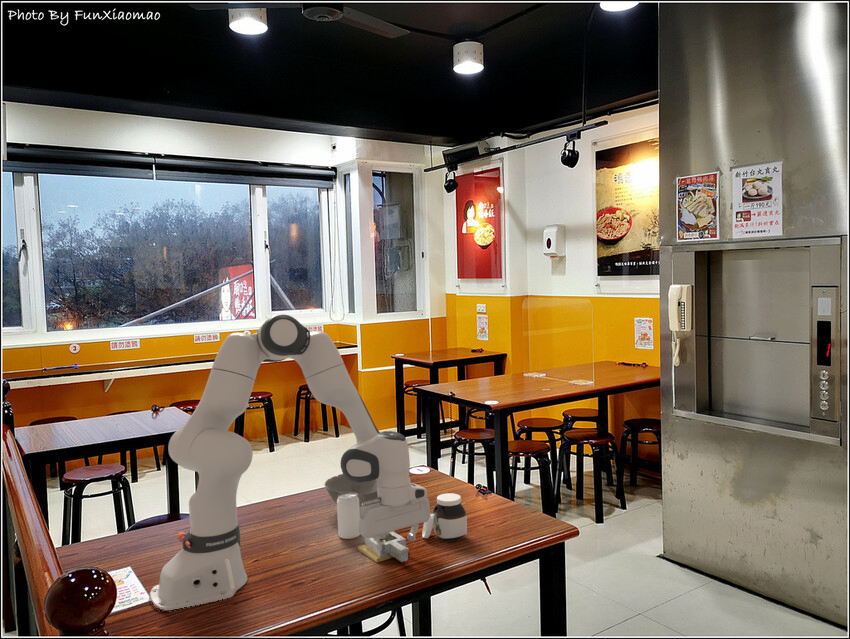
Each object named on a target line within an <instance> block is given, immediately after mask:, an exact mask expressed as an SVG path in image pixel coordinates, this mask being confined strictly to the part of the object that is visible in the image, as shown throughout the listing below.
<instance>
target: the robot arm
mask: <svg viewBox="0 0 850 639" xmlns="http://www.w3.org/2000/svg"><path fill="white" fill-rule="evenodd" d="M218 349H219V350H218V351H217V354H216V357H215V358H214V360H213V364H212V366H211V369H210V373H209V376H208V378H207V382H206V385H205V387H204V390H203V393H202V396H201V398H200V401H199V402H198V404H197V406H196V408H195V409H194V411H193V412H192V414H191V415H190V417H189V418H188V419H187V421H186V422H185V423H184V425H183V426H182V427H180V428H179V429H177V430H176V431H175V432H174V433H173V434H172V435H171V436H170V439H169V441H168V445H167V446H168V450H167V451H168V455H169V457H170V458H171V460H172V461H173V462H174V463H175V464H177V465H179V466H180V467H181V468H184V469H185V470H189V471H192V472H196V473H197V474H198V483H197V488H196V491H195V492H194V493H193V494H192V495H191V496H190V498H189V500H188V510H189V511H188V512H189V515H188V516H189V528H190V529H189V531H188V532H187V533H185V532H184V531H180V532H178V533H177V534H176V539H177V541H179V542H180V543H182V549H180V550H179V551H178V552H177V553H176V555H174V556H173V557H172V558H171V559H170V560H169V561H167V563H166V564H165V565H164V566H163V567H162V569H161V571H160V575H159V580H158V581H159V582H158V584H156V585H155V586H154V585H153V587H152V588H151V590H150V592H149V600H150V599H151V601H152V602H153V604H154V605H155V606H157V607H159V608H160V609H164V610H173V609H179V608H183V609H185V608H184V607H187V608H191V607H190V606H192V607H196V606H200V604H201V605H203V604H204V605H206V604H209V602H210V603H212V602H217V601H218V600H219V601H222V599H223V600H227V598H228V599H230V598H232V597H233V596H235V594H236V592H237V591H238V590H239V589H241V588H242V587H243V586H244V585H245V584H246V583H247V582H248V574H247V573H246V569H245V568H244V567H245V566H244V564H243V559H242V554H241V548H240V546H241V529H240V524H239V523H238V511H237V510H238V509H237V507H238V506H237V494H238V487H239V483H240V480H241V478H242V475H243V474H244V473H245V472H247V470H248V469H249V467H250V466H251V463H252V460H253V454H254V453H253V448H252V445H251V442H250V441H249V440H248V439H246V438H245V437H243V436H241V435H239V434H238V433H236V432H234V431H230V430H229V428H230V427H231V425H232V424H233V422H234V421H235V420H236V419H237V418H238V417H239V416H241V415H242V414H244V413H245V411H246V410H247V408H248V405H249V402H250V397H251V395H252V391H253V388H254V384H255V382H256V377H257V374H258V371H259V369H260V366H261V364H262V363H267V362H268V363H276V362H277V363H278V362H282V361H284V360H286V359H292V360H294V361H295V362H296V363H297V364H298V366H299V367H300V368H301V371H302V374H303V377H304V380H305V382H306V384H307V387H308V389H309V392H311V395H312V396H313V397H314V398H315V400H316V401H317V402H318V403H319V402H320V403H321V404H324V405H327V406H331V407H334V408H336V409H338V410H339V411H340V412H342V414H343V415H344V416H345V418H346V420H347V423H348V424H349V427H350V428H351V430H352V432H353V434H354V436H355V439H356V444H354V445H353V446H351V447H349V448H348V449H347V450H346V451H345V452H343V454H342V455H341V459H340V468H341V472H342V474H344V475H345V477H346V478H347V479H349V480H350V481H352V482H356V483H359V482H368V481H373V480H376V481H377V495H378V498H376V499H372V500H368V501H365V502H364V503H363V504H362V505H361V507H360V509H359V512H360V522H359V532H360V535H361V536H362V537H363V538H364V539H365V538H367V539H369V538H373V539H374V541H375V542H376V543H377V550H378V551H383V550H385V544H384V543H383V542H380V540H379V539H381V535H382V534H386V533H389V532H392V531H393V532H396V531H398V530H401V529H406V528H408V527H409V528H410V527H411V528H410V530H409V532H408V533H407V534H406V535H407V541H408V542H414V541H416V534H417V533H418V530H419V527H420V526H419V524H422V523H423V524H424V522H426V521H428V520H429V518H430V514H431V506H430V500H429V498H428V497H427V496H428V489H427V488H425V487H424V486H422V485H419V484H416V483H413V482H411V478H410V475H409V473H410V469H411V468H410V467H411V462H410V460H411V459H410V452H409V451H410V450H409V445H408V441H407V439H406V437H405V435H403V434H402V433H399V432H396V431H393V430H385V431H380V430H379V429H378V428H377V426H376V423H375V422H374V419H373V418H372V415H371V413H370V412H369V410H368V408H367V406H366V404H365V402H364V400H363V398H362V396H361V394H360V393H359V392H358V389H357V388H356V386H355V384H354V382H353V381H352V379H351V376H350V374H349V372H348V369H347V367H346V365H345V363H344V360H343V358H342V356H341V354H340V351H339V350H338V348H337V346H336V344H335V343H334V341H333V340H332V338H331V336H330V335H329V334H328V333H326V332H324V331H320V330H314V331H310V329H308V328H307V327H305V326H304V325H303V324H302V323H301V322H299V321H298V320H297V319H296V318H295V317H294V316H291V315H289V314H286V313H285V314H284V313H283V314H281V313H280V314H275V315H273V316H270V317H269V318H268V319H266V321H264V322H263V323H262V325H261V326H260V327H259V328H258V330H257V331H256V332H255V333H253V334H250V333H249V334H248V333H245V332H233V333H230V334H229V335H227V336H226V338H225V339H224V340H223V342H222V344H221V346H220V348H218ZM363 505H364V506H363ZM151 601H150V602H151ZM195 605H196V606H195ZM179 610H180V609H179Z"/></svg>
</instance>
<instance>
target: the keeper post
mask: <svg viewBox="0 0 850 639" xmlns="http://www.w3.org/2000/svg"><path fill="white" fill-rule="evenodd" d="M379 540H380V542H383V543H384V542H387V535H386V534H382V535H381V539H379ZM406 548H407V549H408V553H409V552H410V550H409V548H408V547H407V546H406ZM358 551H359V552H361V553H362V554H363V555H365V556H366V557H367V558H369V559H371V560H372V561H373V562H375V563H380V562H383V561H386V560H389V559H392V558H394V557H393V556H391V555H387V556H384V557H381V558H380V557H378V556H377V555H376V554H374V553H373V552H371V551H370V550H368V549H367V548H366V544H362V545H360V546H358Z"/></svg>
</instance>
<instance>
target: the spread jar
mask: <svg viewBox="0 0 850 639" xmlns="http://www.w3.org/2000/svg"><path fill="white" fill-rule="evenodd" d="M461 502H462V497H461V495H460V494H458V493H449V492H448V493H442V494H439V495H437V497H436V504H435V505H434V506H433V510H432V513H430V518H429V520H428V521H426V522H423V526H422V532H421V533H422V534H421V535H422V536H421V537H422V538H424V539H429V537H430V536H431V534H432V533H431V532H432V530H433V531H434V534H435V536H436V538H437V539H438V540H440V541H441V542H445V543H455V542H458V541H461V540H462V539H463V538H465V536H466V535H467V533H468V520H467V519H468V518H467V511H466V509H465V507H464V505H463V504H462V503H461Z"/></svg>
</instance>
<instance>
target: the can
mask: <svg viewBox="0 0 850 639" xmlns="http://www.w3.org/2000/svg"><path fill="white" fill-rule="evenodd" d="M359 509H360V508H359V498H358V496H357V493H355V492H344V493H341V494H339V495H338V499H337V504H336V514H337V516H336V517H337V531H338V532H337V534H338V537H339V538H340V539H341V540H352V539H356V538H358V537H359V536H360V535H361V534H360V532H359V522H360V512H359Z"/></svg>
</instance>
